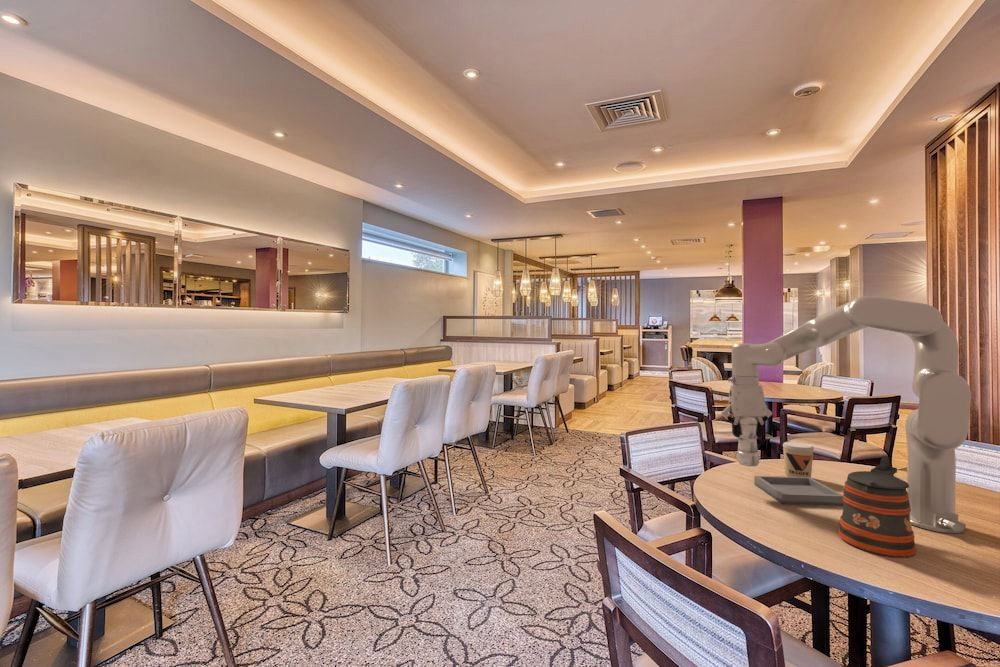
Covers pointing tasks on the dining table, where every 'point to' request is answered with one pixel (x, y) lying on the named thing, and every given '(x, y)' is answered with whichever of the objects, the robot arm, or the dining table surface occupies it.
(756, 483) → the tray
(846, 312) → the robot arm
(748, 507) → the dining table surface
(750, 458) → the plastic bottle
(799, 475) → the coffee cup
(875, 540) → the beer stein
